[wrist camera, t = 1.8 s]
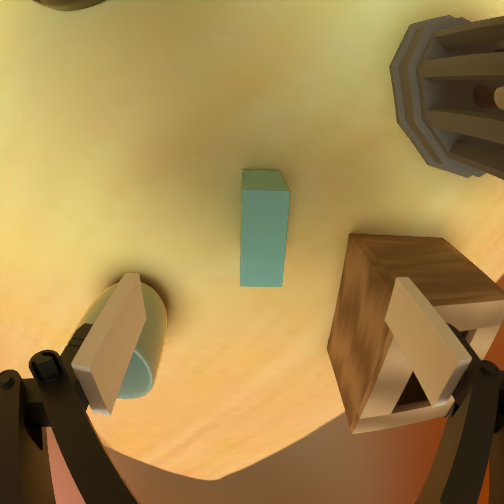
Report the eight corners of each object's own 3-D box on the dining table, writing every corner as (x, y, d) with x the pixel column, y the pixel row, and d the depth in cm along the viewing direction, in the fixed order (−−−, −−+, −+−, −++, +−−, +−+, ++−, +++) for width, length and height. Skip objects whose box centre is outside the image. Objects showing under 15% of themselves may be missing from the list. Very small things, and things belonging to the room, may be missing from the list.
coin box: (349, 233, 29) (403, 308, 18) (444, 238, 29) (513, 299, 18) (326, 348, 35) (351, 434, 24) (410, 342, 35) (450, 413, 24)
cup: (163, 264, 30) (134, 330, 21) (182, 328, 33) (166, 400, 24) (94, 272, 30) (50, 333, 21) (118, 332, 33) (89, 398, 24)
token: (242, 169, 26) (242, 189, 20) (278, 170, 26) (290, 191, 20) (240, 245, 29) (240, 286, 23) (273, 246, 29) (282, 286, 23)
